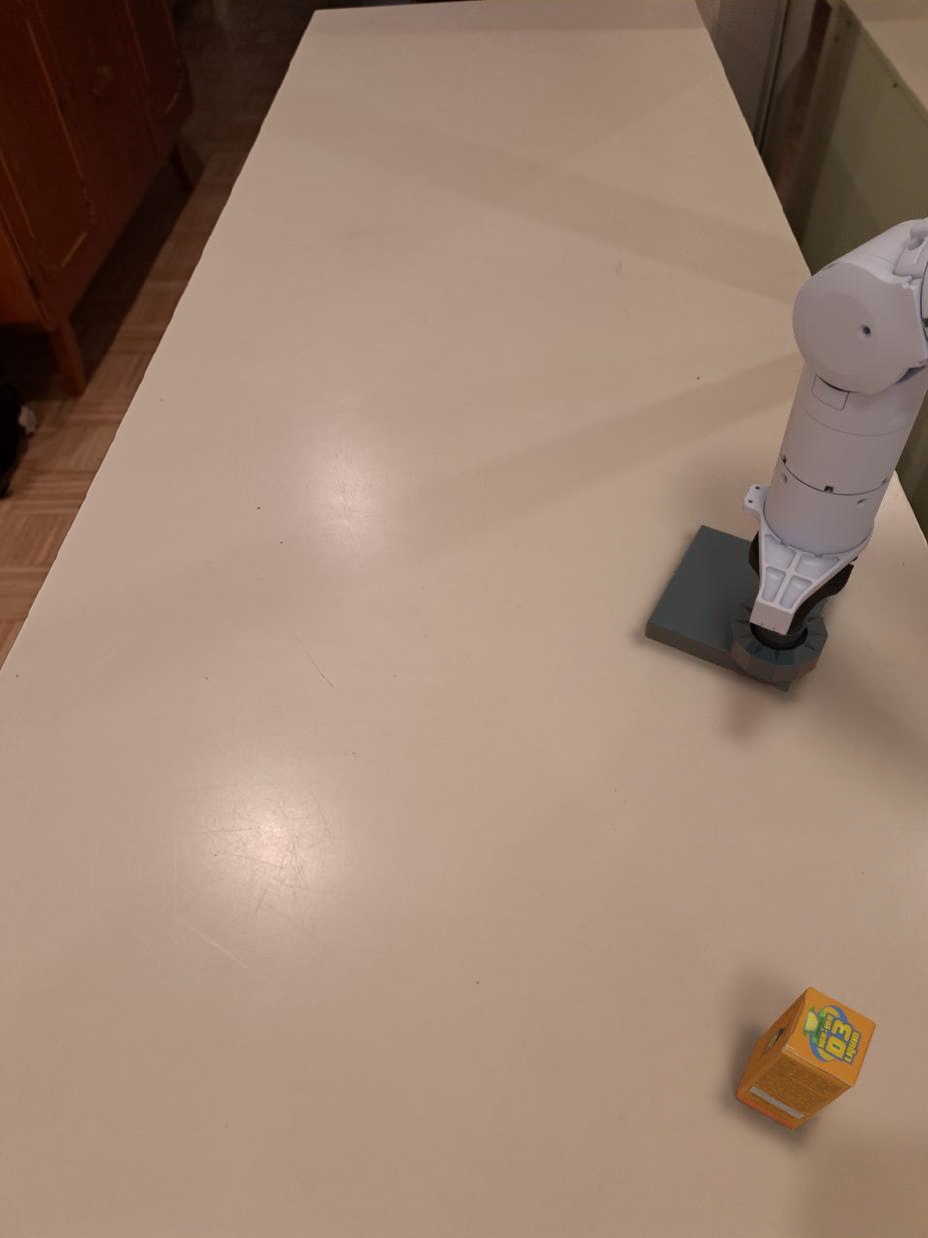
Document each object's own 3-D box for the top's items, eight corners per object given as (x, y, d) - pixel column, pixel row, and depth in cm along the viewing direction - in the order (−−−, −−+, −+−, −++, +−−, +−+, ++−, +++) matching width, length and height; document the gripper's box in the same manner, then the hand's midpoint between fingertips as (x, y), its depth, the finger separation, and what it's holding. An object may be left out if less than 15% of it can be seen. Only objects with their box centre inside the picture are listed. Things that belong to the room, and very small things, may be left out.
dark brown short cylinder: (807, 624, 62) (813, 607, 60) (792, 658, 60) (798, 642, 59) (762, 608, 63) (767, 591, 61) (746, 640, 61) (751, 624, 60)
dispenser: (846, 591, 67) (860, 558, 64) (797, 709, 61) (810, 679, 59) (698, 539, 71) (705, 506, 68) (639, 646, 65) (644, 615, 62)
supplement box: (799, 1138, 47) (854, 1094, 39) (733, 1098, 48) (772, 1047, 40) (823, 1075, 48) (879, 1020, 40) (758, 1037, 50) (800, 978, 42)
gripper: (804, 356, 54) (759, 520, 65) (712, 522, 47) (679, 676, 58) (932, 390, 52) (863, 555, 63) (856, 572, 45) (793, 723, 56)
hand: (782, 616), depth 60 cm, fingers closed, pressing on dark brown short cylinder
